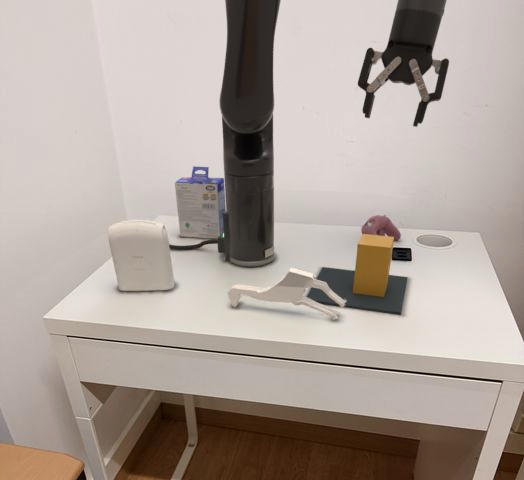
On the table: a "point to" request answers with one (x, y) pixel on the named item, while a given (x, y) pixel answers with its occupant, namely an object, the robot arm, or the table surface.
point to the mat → (343, 287)
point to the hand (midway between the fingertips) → (390, 122)
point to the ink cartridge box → (200, 205)
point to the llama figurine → (289, 291)
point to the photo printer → (141, 255)
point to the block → (373, 264)
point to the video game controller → (380, 227)
